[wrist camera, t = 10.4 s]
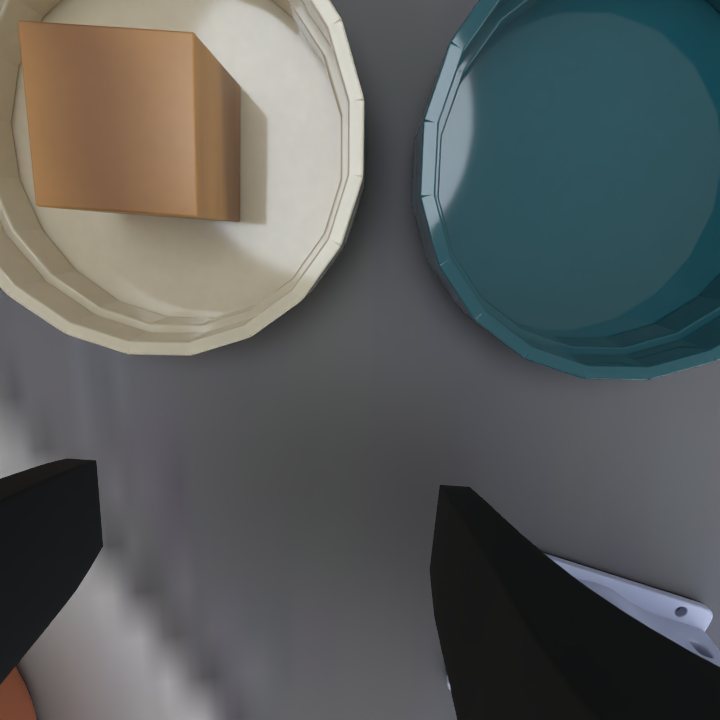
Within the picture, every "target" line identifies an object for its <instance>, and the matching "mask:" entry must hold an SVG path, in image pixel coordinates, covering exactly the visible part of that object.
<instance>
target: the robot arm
mask: <svg viewBox="0 0 720 720" xmlns="http://www.w3.org/2000/svg"><path fill="white" fill-rule="evenodd" d="M102 547H103V540H102V528H101V515H100V502H99V490H98V477H97V465H96V461H95V460H80V459H63V460H59V461H54V462H51V463H47V464H44V465H40V466H37V467H34V468H31V469H28V470H25V471H22V472H19V473H16V474H13V475H10V476H7V477H4V478H2V479H0V685H1V684H2V682H3V681H4V680H5V679H6V677H7V676H8V675H9V674H10V672H11V671H12V670H13V669H14V668H15V666H16V665H17V664H18V663H19V661H20V660H21V659H22V658H23V656H24V655H25V654H26V653H27V651H28V650H29V649H30V648H31V646H32V645H33V644H34V643H35V642H36V640H37V639H38V638H39V637H40V635H41V634H42V633H43V632H44V630H45V629H46V628H47V627H48V625H49V624H50V623H51V622H52V620H53V619H54V618H55V617H56V615H57V614H58V613H59V612H60V610H61V609H62V608H63V607H64V605H65V604H66V603H67V601H68V600H69V599H70V598H71V596H72V595H73V594H74V592H75V591H76V590H77V588H78V586H79V585H80V583H81V582H82V580H83V579H84V577H85V575H86V574H87V572H88V571H89V569H90V567H91V566H92V564H93V562H94V561H95V559H96V557H97V555H98V554H99V552H100V550H101V549H102ZM430 577H431V588H432V598H433V607H434V616H435V621H436V626H437V630H438V635H439V639H440V644H441V649H442V653H443V658H444V662H445V666H446V671H447V677H446V681H447V686H448V688H449V690H450V691H451V693H452V698H453V702H454V706H455V711H456V715H457V720H720V650H719V648H718V647H717V646H716V645H715V644H714V642H713V641H712V640H711V639H710V638H709V636H708V635H707V634H706V633H705V630H706V629H707V627H708V625H709V624H710V622H711V621H712V618H713V614H712V612H711V611H710V609H709V608H708V607H707V606H706V605H704V604H703V603H700V602H697V601H693V600H690V599H687V598H684V597H681V596H678V595H674V594H671V593H668V592H665V591H662V590H659V589H656V588H652V587H649V586H646V585H643V584H640V583H637V582H633V581H630V580H627V579H624V578H621V577H618V576H615V575H611V574H608V573H605V572H602V571H599V570H596V569H592V568H589V567H586V566H583V565H580V564H577V563H574V562H570V561H567V560H564V559H561V558H558V557H555V556H551V555H548V554H545V553H543V552H542V551H540V550H539V549H538V548H537V547H536V546H534V545H533V544H532V543H531V542H530V541H529V540H527V539H526V538H525V537H524V536H523V535H522V534H521V533H519V532H518V531H517V530H516V529H515V528H514V527H513V526H512V525H511V524H509V523H508V522H507V521H506V520H505V519H504V518H503V517H502V516H501V515H500V514H499V513H498V512H496V511H495V510H494V509H493V508H492V507H491V506H490V505H489V504H488V503H487V502H486V501H485V500H484V499H483V498H481V497H480V496H479V495H478V494H477V493H476V492H475V491H474V490H472V489H471V488H470V487H462V486H447V485H440V489H439V497H438V505H437V514H436V522H435V530H434V539H433V547H432V555H431V564H430ZM678 607H680V608H679V609H677V608H678ZM676 609H677V610H676Z"/></svg>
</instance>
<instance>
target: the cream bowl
mask: <svg viewBox="0 0 720 720" xmlns="http://www.w3.org/2000/svg"><path fill="white" fill-rule="evenodd" d="M18 21H33V22H48V23H63V24H78V25H93V26H109V27H124V28H139V29H154V30H169V31H184V32H193V33H195V34H196V36H197V37H198V38H199V39H200V40H201V41H202V42H203V44H204V45H205V46H206V47H207V48H208V49H209V51H210V52H211V53H212V54H213V55H214V56H215V57H216V59H217V60H218V61H219V62H220V63H221V64H222V65H223V67H224V68H225V69H226V70H227V71H228V72H229V74H230V75H231V76H232V77H233V78H234V79H235V80H236V82H237V83H238V84H239V85H240V87H241V109H240V221H239V222H232V221H217V220H202V219H188V218H173V217H158V216H144V215H129V214H115V213H104V212H93V211H81V210H70V209H59V208H47V207H39V206H37V205H36V202H35V192H34V182H33V171H32V161H31V151H30V141H29V131H28V121H27V111H26V101H25V91H24V81H23V71H22V61H21V51H20V41H19V31H18ZM365 135H366V122H365V102H364V96H363V92H362V89H361V85H360V82H359V78H358V74H357V71H356V67H355V64H354V60H353V56H352V53H351V49H350V46H349V42H348V39H347V35H346V31H345V28H344V24H343V21H342V20H341V17H340V15H339V14H338V12H337V11H336V9H335V7H334V6H333V4H332V3H331V1H330V0H0V287H1V289H2V290H3V291H4V292H5V293H6V294H7V295H8V296H9V297H11V298H12V299H14V300H15V301H17V302H18V303H20V304H21V305H23V306H24V307H26V308H27V309H29V310H30V311H32V312H33V313H35V314H36V315H38V316H39V317H41V318H42V319H44V320H45V321H47V322H48V323H50V324H51V325H53V326H54V327H55V328H57V329H58V330H60V331H61V332H63V333H66V334H67V335H70V336H73V337H76V338H79V339H82V340H85V341H88V342H91V343H94V344H98V345H101V346H104V347H107V348H110V349H113V350H116V351H119V352H122V353H125V354H130V355H184V356H190V355H195V354H198V353H202V352H205V351H208V350H211V349H215V348H218V347H221V346H225V345H228V344H231V343H234V342H238V341H241V340H244V339H247V338H250V337H252V336H254V335H255V334H256V333H258V332H259V331H261V330H262V329H263V328H265V327H266V326H267V325H269V324H270V323H272V322H273V321H274V320H276V319H277V318H279V317H280V316H281V315H283V314H284V313H286V312H287V311H288V310H290V309H291V308H292V307H294V306H295V305H297V304H298V303H299V302H301V301H302V300H303V299H304V298H305V297H306V296H307V295H308V294H309V293H310V292H311V291H312V290H314V288H315V287H316V286H317V284H318V283H319V282H320V280H321V279H322V277H323V276H324V275H325V273H326V272H327V270H328V269H329V268H330V266H331V265H332V263H333V262H334V261H335V259H336V258H337V256H338V255H339V254H340V252H341V251H342V250H343V248H344V247H345V245H346V243H347V240H348V237H349V234H350V231H351V228H352V225H353V222H354V219H355V216H356V212H357V209H358V206H359V203H360V200H361V197H362V194H363V191H364V186H365Z"/></svg>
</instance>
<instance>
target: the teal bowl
mask: <svg viewBox="0 0 720 720" xmlns="http://www.w3.org/2000/svg"><path fill="white" fill-rule="evenodd" d="M412 203H413V204H412V207H413V211H414V214H415V218H416V222H417V225H418V229H419V233H420V237H421V240H422V244H423V248H424V251H425V255H426V259H427V260H428V263H429V264H430V266H431V267H432V269H433V270H434V272H435V273H436V275H437V276H438V278H439V279H440V281H441V282H442V284H443V285H444V287H445V288H446V290H447V291H448V293H449V295H450V296H451V298H452V299H453V301H454V302H455V304H456V305H457V306H458V307H459V308H460V309H461V310H462V311H463V312H465V313H466V314H467V315H468V316H470V317H471V318H472V319H473V320H474V321H476V322H477V323H478V324H480V325H481V326H482V327H483V328H485V329H486V330H487V331H489V332H490V333H491V334H492V335H494V336H495V337H496V338H498V339H499V340H500V341H502V342H503V343H504V344H505V345H507V346H508V347H509V348H511V349H512V350H513V351H514V352H516V353H517V354H518V355H520V356H521V357H522V358H524V359H526V360H529V361H532V362H535V363H538V364H541V365H544V366H547V367H550V368H553V369H556V370H559V371H561V372H564V373H567V374H570V375H573V376H576V377H579V378H584V379H614V380H650V379H654V378H658V377H661V376H665V375H669V374H672V373H676V372H679V371H683V370H687V369H690V368H694V367H698V366H701V365H705V364H709V363H712V362H714V361H717V360H719V359H720V0H479V1H478V2H477V4H476V5H475V7H474V8H473V10H472V11H471V13H470V14H469V15H468V17H467V18H466V20H465V21H464V23H463V24H462V25H461V27H460V28H459V30H458V31H457V33H456V34H455V35H454V37H453V38H452V40H451V42H450V44H449V45H448V48H447V50H446V53H445V55H444V58H443V60H442V63H441V65H440V68H439V70H438V73H437V75H436V77H435V80H434V83H433V86H432V89H431V92H430V95H429V98H428V101H427V104H426V107H425V110H424V113H423V115H422V118H421V121H420V124H419V127H418V130H417V133H416V136H415V141H414V154H413V180H412Z"/></svg>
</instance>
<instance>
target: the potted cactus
mask: <svg viewBox="0 0 720 720" xmlns="http://www.w3.org/2000/svg"><path fill="white" fill-rule="evenodd" d="M0 720H37V718H36V713H35V709H34V706H33V703H32V700H31V697H30V695H29V692H28V690H27V688H26V685H25V683H24V681H23V679H22V677H21V675H20V674H19V672H18V670H17V668H16V667H15V668H14V669H13V670H12V671H11V672H10V674H9V675H8V676H7V677H6V679H5V680H4V681H3V682H2V684H1V685H0Z"/></svg>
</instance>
